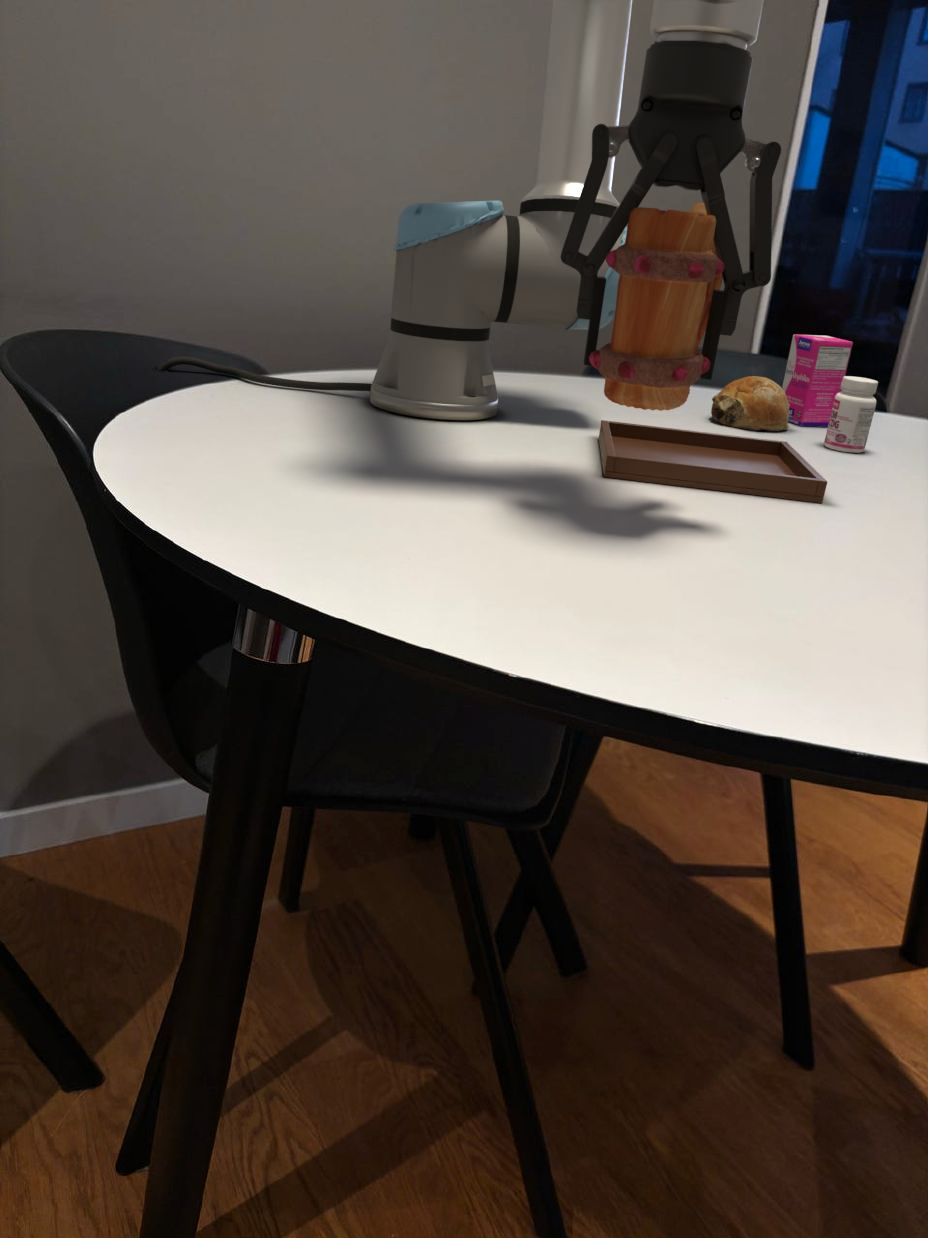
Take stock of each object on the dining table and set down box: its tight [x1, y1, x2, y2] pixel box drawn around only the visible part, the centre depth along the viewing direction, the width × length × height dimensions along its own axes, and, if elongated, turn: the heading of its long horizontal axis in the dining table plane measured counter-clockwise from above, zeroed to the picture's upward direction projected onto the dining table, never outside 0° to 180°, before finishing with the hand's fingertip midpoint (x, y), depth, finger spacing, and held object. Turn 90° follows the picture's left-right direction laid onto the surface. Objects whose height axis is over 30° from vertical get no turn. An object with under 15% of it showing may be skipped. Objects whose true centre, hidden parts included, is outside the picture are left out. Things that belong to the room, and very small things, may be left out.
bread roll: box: [710, 375, 790, 432], centre depth 128 cm, size 10×10×8 cm
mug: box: [589, 202, 725, 412], centre depth 76 cm, size 15×8×15 cm, turn 145°
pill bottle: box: [823, 375, 879, 454], centre depth 118 cm, size 5×5×8 cm
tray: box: [598, 419, 828, 504], centre depth 101 cm, size 21×19×2 cm
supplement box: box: [781, 333, 854, 428], centre depth 133 cm, size 6×6×12 cm
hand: (646, 369), depth 78 cm, fingers closed on mug, 8 cm apart
